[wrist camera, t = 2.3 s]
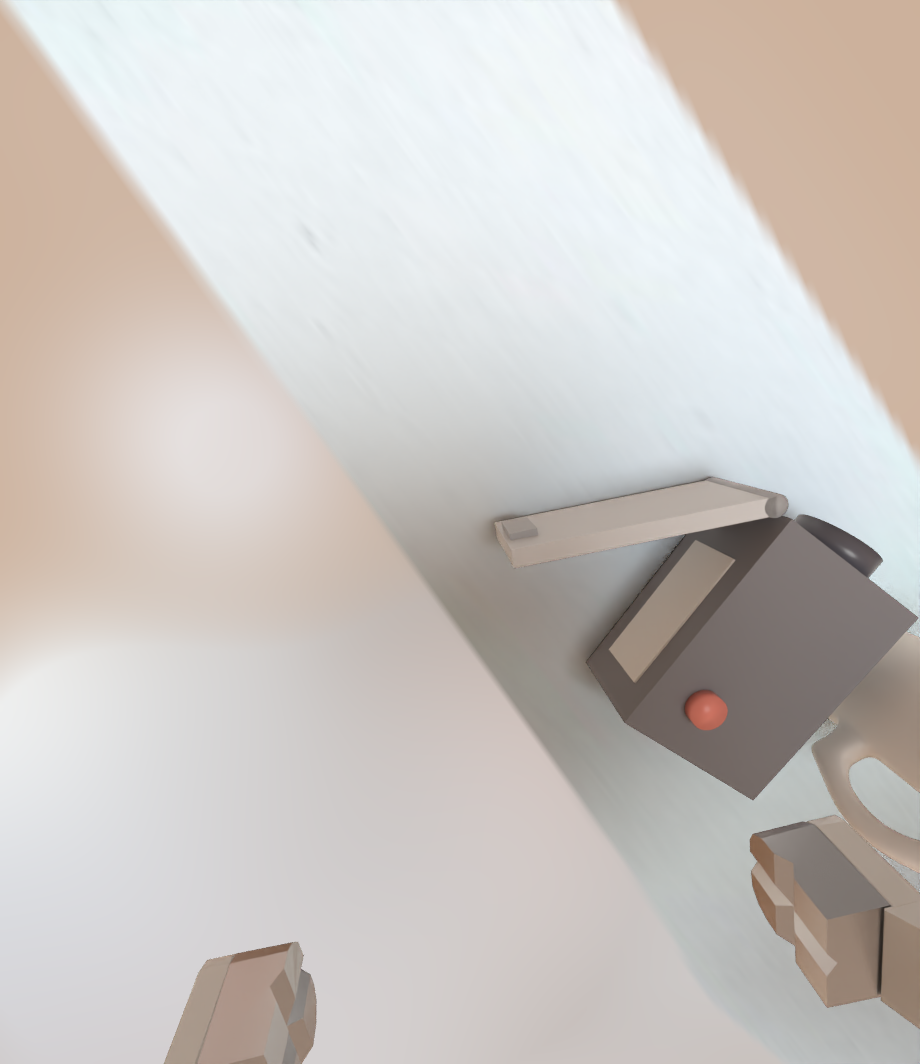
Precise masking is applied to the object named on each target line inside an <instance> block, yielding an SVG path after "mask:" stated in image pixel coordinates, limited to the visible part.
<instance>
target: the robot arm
mask: <svg viewBox="0 0 920 1064" xmlns="http://www.w3.org/2000/svg"><path fill="white" fill-rule="evenodd" d="M750 852H751V853H752V854H753V856H754V857H755V859H756V860H757V863H756V864H755V866H754V867H753V869H752V871H751V875H752V886H753V889H754V892H755V895H756V898H757V901H758V904H759V906H760V908H761V909H762V911H763V913H764V915H765V917H766V919H767V920H768V922H769V923H770V925H771V926H772V928H773V929H774V931H775V932H776V934H777V935H779V936H780V937H782V938H783V939H785V940H787V941H788V942H790V943H791V944H793V945H794V946H795V956H796V963H797V965H798V966H799V968H800V969H801V971H802V972H803V974H804V975H805V976H806V978H807V979H808V981H809V982H810V984H811V985H812V987H813V988H814V990H815V991H816V992H817V994H818V995H819V997H820V998H821V1000H822V1001H823V1003H824V1004H825V1006H826V1007H827V1008H829V1007H833V1006H838V1005H843V1004H848V1003H853V1002H857V1001H862V1000H867V999H872V998H877V997H881V1001H882V1002H884V1003H885V1004H886V1005H888V1006H889V1007H890V1008H892V1009H893V1010H895V1011H896V1012H897V1013H899V1014H900V1015H901V1016H903V1017H904V1018H905V1019H907V1020H908V1021H909V1022H911V1023H912V1024H913V1025H915V1026H916V1027H918V1028H919V1029H920V893H919V892H918V891H917V890H916V889H915V888H914V887H913V886H912V885H911V884H910V883H909V882H908V881H907V880H906V879H904V878H903V877H902V876H901V875H900V874H899V873H898V872H897V871H896V870H895V869H894V868H893V867H892V866H891V865H890V864H889V863H888V862H887V861H886V860H885V859H884V858H883V857H882V856H881V855H880V854H878V853H877V852H876V851H875V850H874V849H873V848H872V847H871V846H870V845H869V844H868V843H867V842H866V841H865V840H864V839H863V838H862V837H861V836H860V835H859V834H858V833H857V832H856V831H855V830H854V829H853V828H851V827H850V826H849V825H848V824H847V823H846V822H845V821H844V820H843V819H842V818H840V817H838V816H836V815H832V816H828V817H824V818H819V819H815V820H811V821H807V822H799V823H795V824H791V825H787V826H783V827H779V828H775V829H771V830H767V831H763V832H759V833H755V834H753V835H752V836H751V838H750ZM303 956H304V955H303V953H302V950H301V948H300V946H299V943H298V942H292V943H287V944H282V945H277V946H272V947H267V948H262V949H257V950H252V951H247V952H242V953H237V954H233V955H228V956H224V957H219V958H214V959H210V960H207V961H206V963H205V964H204V965H203V967H202V969H201V970H200V971H199V973H198V975H197V978H196V981H195V983H194V986H193V988H192V991H191V994H190V997H189V999H188V1002H187V1004H186V1007H185V1010H184V1012H183V1015H182V1018H181V1020H180V1023H179V1025H178V1028H177V1031H176V1034H175V1036H174V1038H173V1041H172V1044H171V1046H170V1049H169V1052H168V1055H167V1057H166V1060H165V1062H164V1064H302V1062H303V1061H304V1059H305V1057H306V1056H307V1054H308V1053H309V1051H310V1050H311V1048H312V1046H313V1042H314V1036H315V1029H316V994H315V988H314V984H313V981H312V978H311V975H310V974H309V973H307V972H305V971H304V970H302V969H301V966H302V961H303Z"/></svg>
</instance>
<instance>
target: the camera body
mask: <svg viewBox="0 0 920 1064" xmlns="http://www.w3.org/2000/svg"><path fill="white" fill-rule="evenodd" d="M882 562H883V559H882V558H881V556H880V555H879V554H878V553H877V552H875V551H874V550H873V549H872V548H870V547H869V546H868V545H866V544H865V543H863V542H862V541H860V540H859V539H857V538H855V537H854V536H852V535H850V534H849V533H847V532H845V531H843V530H841V529H839V528H837V527H836V526H833V525H831V524H829V523H827V522H825V521H822V520H820V519H817V518H815V517H811V516H808V515H798V516H797V518H796V519H795V520H792V519H790V518H787V517H784V516H781V517H778V518H771V517H767V518H762V519H758V520H753V521H748V522H743V523H738V524H733V525H728V526H723V527H718V528H713V529H708V530H703V531H698V532H693V533H688V534H686V536H685V537H684V538H683V539H682V541H681V542H680V543H679V545H678V546H677V547H676V548H675V550H674V551H673V552H672V553H671V555H670V556H669V557H668V559H667V560H666V561H665V562H664V564H663V565H662V566H661V567H660V569H659V570H658V571H657V573H656V574H655V575H654V576H653V578H652V579H651V580H650V581H649V583H648V584H647V585H646V587H645V588H644V589H643V590H642V592H641V593H640V594H639V595H638V597H637V598H636V599H635V601H634V602H633V603H632V604H631V606H630V607H629V608H628V609H627V611H626V612H625V613H624V614H623V616H622V617H621V618H620V620H619V621H618V622H617V623H616V625H615V626H614V627H613V628H612V630H611V631H610V632H609V634H608V635H607V636H606V637H605V639H604V640H603V641H602V642H601V644H600V645H599V646H598V648H597V649H596V650H595V651H594V653H593V654H592V655H591V656H590V658H589V659H588V660H587V662H586V663H587V665H588V666H589V668H590V669H591V671H592V672H593V674H594V676H595V677H596V679H597V680H598V682H599V683H600V685H601V686H602V688H603V690H604V691H605V693H606V694H607V696H608V697H609V699H610V701H611V702H612V704H613V705H614V707H615V708H616V710H617V712H618V713H619V715H620V716H621V718H622V719H623V721H624V723H626V724H628V725H629V726H631V727H633V728H634V729H636V730H638V731H639V732H641V733H643V734H644V735H646V736H648V737H649V738H651V739H652V740H654V741H656V742H657V743H659V744H661V745H662V746H664V747H666V748H667V749H669V750H671V751H672V752H674V753H676V754H677V755H679V756H681V757H682V758H684V759H686V760H687V761H689V762H690V763H692V764H694V765H695V766H697V767H699V768H700V769H702V770H704V771H705V772H707V773H709V774H710V775H712V776H714V777H715V778H717V779H719V780H720V781H722V782H724V783H725V784H727V785H728V786H730V787H732V788H733V789H735V790H737V791H738V792H740V793H742V794H743V795H745V796H747V797H748V798H750V799H752V800H754V799H755V798H756V797H757V796H758V794H759V793H760V792H761V791H762V790H763V789H764V788H765V787H766V786H767V784H768V783H769V782H770V781H771V780H772V779H773V778H774V777H775V776H776V775H777V773H778V772H779V771H780V770H781V769H782V768H783V767H784V766H785V765H786V764H787V762H788V761H789V760H790V759H791V758H792V757H793V756H794V755H795V754H796V752H797V751H798V750H799V749H800V748H801V747H802V746H803V745H804V744H805V743H806V741H807V740H808V739H809V738H810V737H811V736H812V735H813V734H814V733H815V732H816V730H817V729H818V728H819V727H820V726H821V725H822V724H823V723H824V722H825V721H826V719H827V718H828V717H829V716H830V715H831V714H832V713H833V712H834V711H835V709H836V708H837V707H838V706H839V705H840V704H841V703H842V702H843V701H844V700H845V698H846V697H847V696H848V695H849V694H850V693H851V692H852V691H853V690H854V689H855V687H856V686H857V685H858V684H859V683H860V682H861V681H862V680H863V679H864V678H865V676H866V675H867V674H868V673H869V672H870V671H871V670H872V669H873V668H874V666H875V665H876V664H877V663H878V662H879V661H880V660H881V659H882V658H883V657H884V655H885V654H886V653H887V652H888V651H889V650H890V649H891V648H892V647H893V646H894V644H895V643H896V642H897V641H898V640H899V639H900V638H901V637H902V636H903V635H904V633H905V632H906V631H907V630H908V629H909V628H910V627H911V626H912V625H913V623H914V622H915V621H916V620H917V619H918V617H917V616H916V615H915V614H913V613H912V612H911V611H909V610H908V609H907V608H906V607H904V606H903V605H902V604H900V603H899V602H898V601H897V600H895V599H894V598H893V597H891V596H890V595H889V594H888V593H886V592H885V591H884V590H882V589H881V588H880V587H879V586H877V585H876V584H875V583H873V582H872V581H871V580H870V579H868V578H869V577H870V576H871V574H872V573H873V572H874V571H875V570H876V569H877V568H878V566H879V565H880V564H881V563H882Z"/></svg>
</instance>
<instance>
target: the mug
mask: <svg viewBox="0 0 920 1064" xmlns="http://www.w3.org/2000/svg"><path fill="white" fill-rule="evenodd" d="M828 718H829V719H830V720H831V721H832V722H833V723H835V724H836V725H837V727H836V728H835V729H834V730H833V731H832V732H831V733H830V734H829V735H827V736H826V737H824V738H822V739H820V740H818V741H816V742H815V743H814V744H813V745H812V753H813V756H814V759H815V761H816V763H817V766H818V768H819V770H820V773H821V775H822V777H823V780H824V782H825V784H826V786H827V789H828V791H829V793H830V795H831V797H832V799H833V801H834V803H835V805H836V807H837V808H838V810H839V811H840V813H841V814H842V816H843V817H844V818H845V820H846V821H847V822H848V823H849V824H850V826H851V827H852V828H853V829H854V830H855V831H856V832H857V833H858V834H859V835H860V836H861V837H862V838H863V839H865V840H866V841H867V842H868V843H869V844H871V845H872V846H873V847H875V848H876V849H877V850H879V851H880V852H882V853H883V854H885V855H887V856H888V857H890V858H891V859H893V860H895V861H897V862H898V863H900V864H902V865H904V866H906V867H908V868H910V869H912V870H914V871H916V872H918V873H920V841H919V840H916V839H912V838H909V837H907V836H905V835H902V834H900V833H898V832H896V831H894V830H892V829H891V828H889V827H887V826H886V825H884V824H883V823H882V822H880V821H879V820H878V819H877V818H876V817H874V816H873V815H872V814H871V813H870V812H869V811H868V810H867V809H866V807H865V806H864V805H863V804H862V803H861V801H860V800H859V799H858V797H857V796H856V794H855V793H854V791H853V789H852V787H851V785H850V781H849V769H850V767H851V766H852V765H853V764H854V763H856V762H858V761H859V760H861V759H864V758H867V757H872V758H876V759H878V760H879V761H881V762H882V763H883V764H885V765H886V766H887V767H888V768H890V769H891V770H892V771H893V772H894V773H896V774H897V775H898V776H899V777H901V778H902V779H903V780H904V781H906V782H907V783H908V784H909V785H910V786H912V787H913V788H914V789H915V790H917V791H918V792H919V793H920V637H917V636H915V635H913V634H910V633H908V632H905V633H904V635H903V636H902V637H901V638H900V639H899V640H898V641H897V642H896V643H895V644H894V646H893V647H892V648H891V649H890V650H889V651H888V652H887V653H886V654H885V655H884V657H883V658H882V659H881V660H880V661H879V662H878V663H877V664H876V665H875V666H874V668H873V669H872V670H871V671H870V672H869V673H868V674H867V675H866V676H865V678H864V679H863V680H862V681H861V682H860V683H859V684H858V685H857V686H856V687H855V689H854V690H853V691H852V692H851V693H850V694H849V695H848V696H847V697H846V698H845V700H844V701H843V702H842V703H841V704H840V705H839V706H838V707H837V708H836V709H835V711H834V712H833V713H832V714H831V715H830V716H829V717H828Z"/></svg>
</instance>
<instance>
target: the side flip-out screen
mask: <svg viewBox="0 0 920 1064" xmlns="http://www.w3.org/2000/svg"><path fill="white" fill-rule="evenodd" d="M787 509H788V500H787V498H786V497H785V496H784V495H781V494H778V493H774V492H770V491H766V490H762V489H758V488H754V487H751V486H747V485H743V484H739V483H735V482H731V481H727V480H724V479H720V478H716V477H710V478H708V479H706V480H705V481H700V482H695V483H690V484H685V485H680V486H675V487H670V488H665V489H660V490H655V491H650V492H645V493H640V494H635V495H630V496H625V497H620V498H615V499H610V500H605V501H599V502H594V503H589V504H584V505H579V506H574V507H569V508H564V509H559V510H554V511H549V512H544V513H539V514H534V515H529V516H524V517H519V518H514V519H509V520H504V521H499V522H494V524H495V530H496V535H497V539H498V541H499V542H500V544H501V546H502V548H503V550H504V551H505V553H506V555H507V557H508V558H509V560H510V562H511V564H512V565H513V567H514V569H515V568H520V567H525V566H530V565H535V564H540V563H544V562H549V561H554V560H559V559H564V558H569V557H574V556H579V555H584V554H589V553H594V552H599V551H604V550H609V549H614V548H619V547H624V546H629V545H634V544H639V543H644V542H649V541H653V540H658V539H663V538H668V537H673V536H678V535H683V534H688V533H693V532H698V531H703V530H708V529H713V528H718V527H723V526H728V525H733V524H738V523H743V522H748V521H753V520H758V519H762V518H767V517H771V518H778V517H781V516H782V515H783V514H784V513H785V512H786V511H787Z"/></svg>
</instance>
